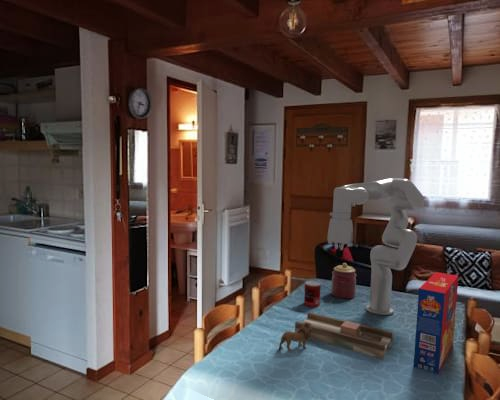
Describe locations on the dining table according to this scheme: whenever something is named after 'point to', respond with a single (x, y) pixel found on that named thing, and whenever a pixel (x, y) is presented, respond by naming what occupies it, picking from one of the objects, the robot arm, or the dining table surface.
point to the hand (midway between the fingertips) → (339, 258)
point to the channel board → (348, 336)
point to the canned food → (312, 293)
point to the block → (350, 328)
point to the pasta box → (435, 321)
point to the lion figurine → (297, 336)
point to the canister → (344, 282)
